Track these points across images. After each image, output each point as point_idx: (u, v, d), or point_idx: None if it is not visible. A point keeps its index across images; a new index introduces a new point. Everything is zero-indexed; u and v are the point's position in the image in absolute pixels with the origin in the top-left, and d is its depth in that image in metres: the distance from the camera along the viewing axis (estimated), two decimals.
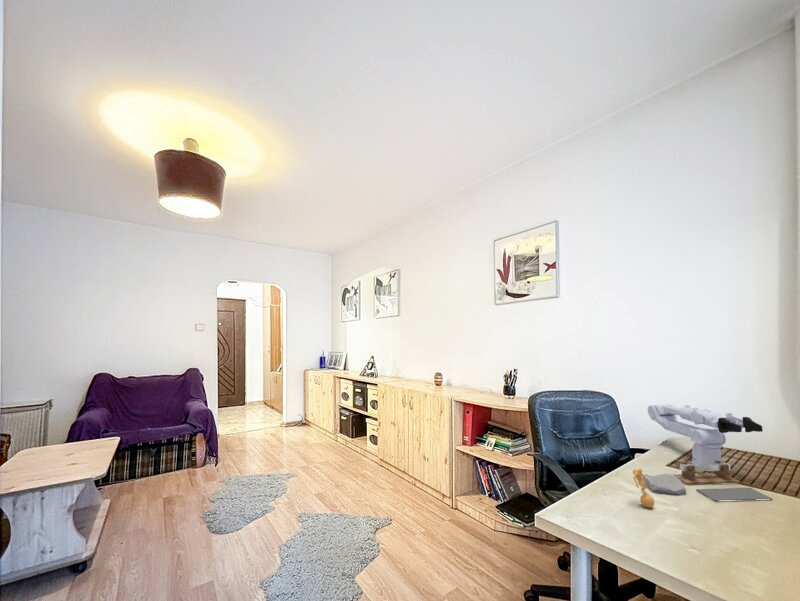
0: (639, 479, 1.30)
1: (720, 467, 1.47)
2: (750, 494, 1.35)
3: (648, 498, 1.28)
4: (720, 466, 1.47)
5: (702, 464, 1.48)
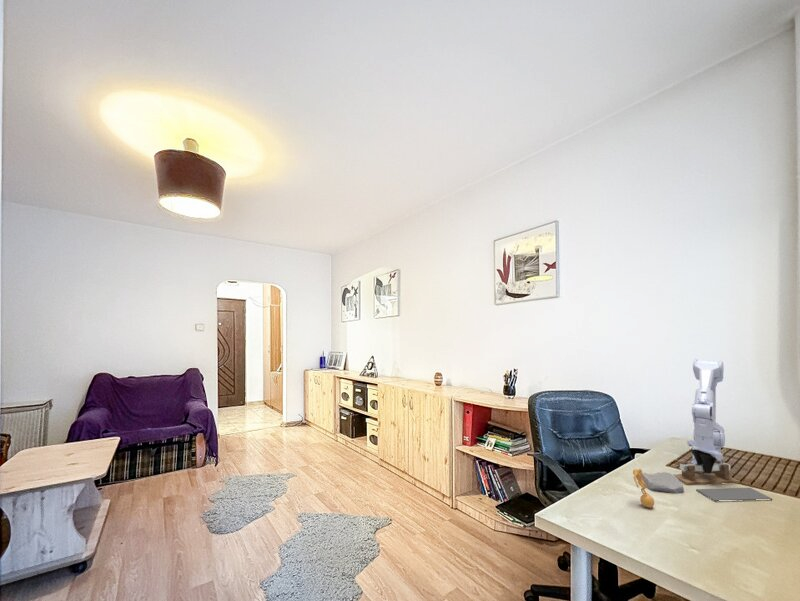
0: (639, 479, 1.30)
1: (720, 467, 1.47)
2: (750, 494, 1.35)
3: (648, 498, 1.28)
4: (720, 466, 1.47)
5: (702, 464, 1.48)
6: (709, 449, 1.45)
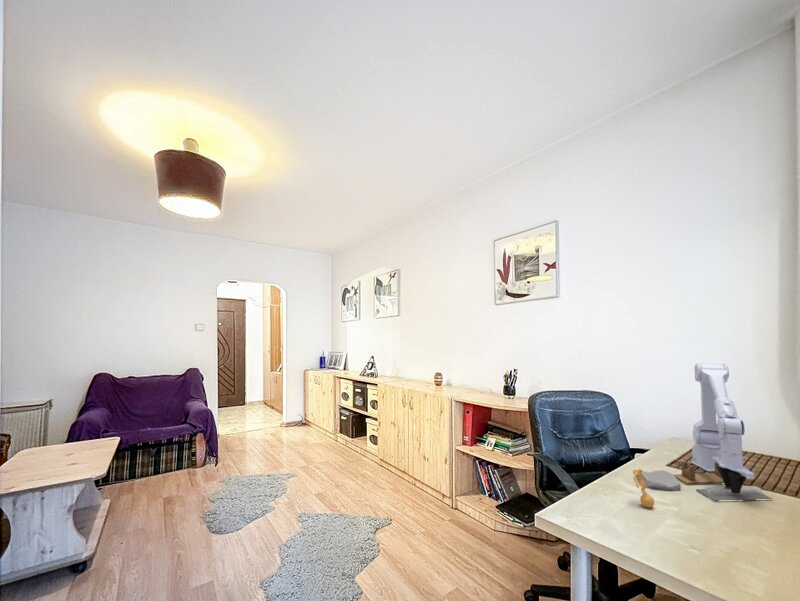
0: (639, 479, 1.30)
1: (750, 491, 1.35)
2: None
3: (648, 498, 1.28)
4: (750, 490, 1.35)
5: (730, 487, 1.36)
6: (738, 467, 1.33)
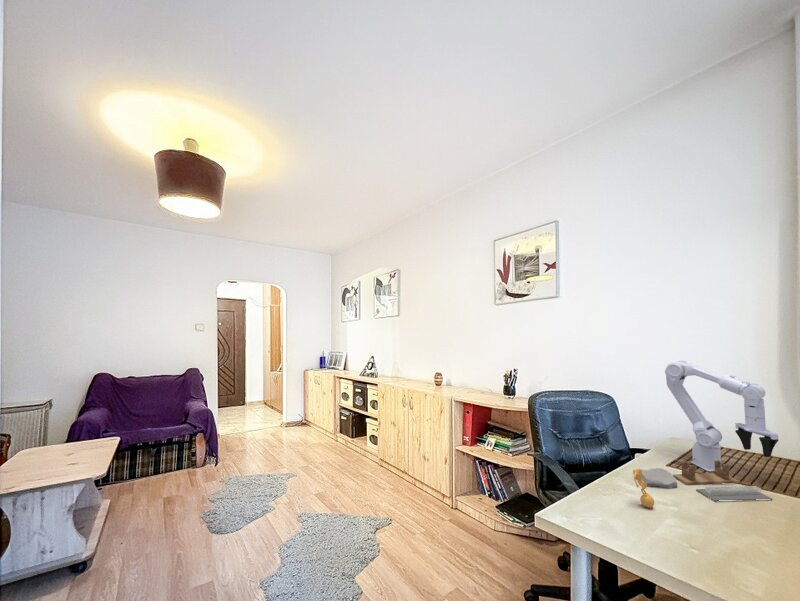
0: (639, 479, 1.30)
1: (750, 491, 1.35)
2: None
3: (648, 498, 1.28)
4: (750, 490, 1.35)
5: (730, 487, 1.36)
6: (762, 430, 1.44)
